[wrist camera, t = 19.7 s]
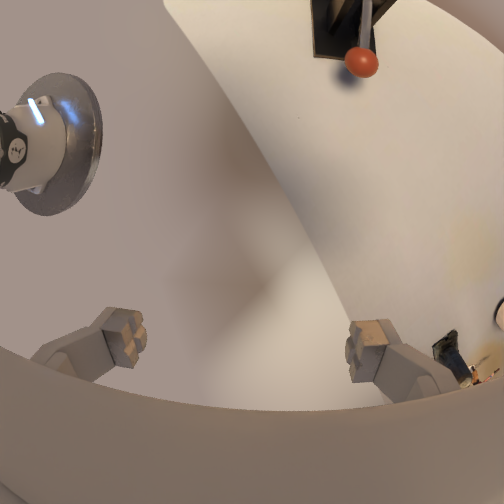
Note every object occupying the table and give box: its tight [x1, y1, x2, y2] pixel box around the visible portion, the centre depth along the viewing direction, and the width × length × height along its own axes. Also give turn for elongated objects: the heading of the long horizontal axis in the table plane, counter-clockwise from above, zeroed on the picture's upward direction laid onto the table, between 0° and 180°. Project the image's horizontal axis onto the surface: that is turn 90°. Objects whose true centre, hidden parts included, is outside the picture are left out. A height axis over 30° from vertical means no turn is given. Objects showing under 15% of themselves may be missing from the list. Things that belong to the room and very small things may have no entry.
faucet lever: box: [345, 0, 379, 78], centre depth 21 cm, size 13×4×4 cm, turn 0°
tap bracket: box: [310, 0, 397, 60], centre depth 22 cm, size 12×9×15 cm
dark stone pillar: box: [432, 331, 473, 389], centre depth 42 cm, size 9×8×12 cm
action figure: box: [468, 365, 499, 385], centre depth 45 cm, size 12×3×9 cm, turn 143°
